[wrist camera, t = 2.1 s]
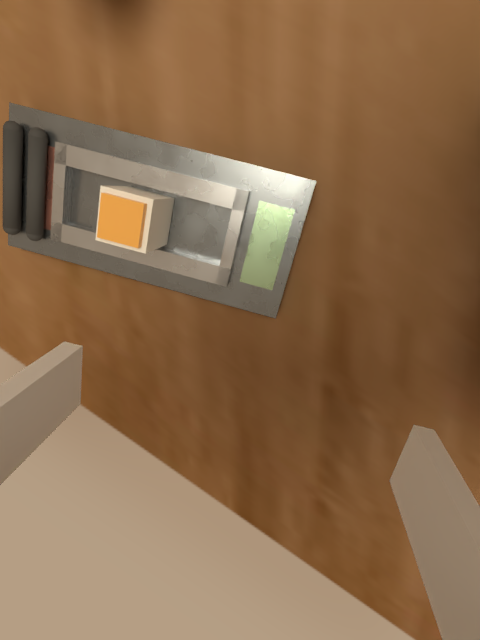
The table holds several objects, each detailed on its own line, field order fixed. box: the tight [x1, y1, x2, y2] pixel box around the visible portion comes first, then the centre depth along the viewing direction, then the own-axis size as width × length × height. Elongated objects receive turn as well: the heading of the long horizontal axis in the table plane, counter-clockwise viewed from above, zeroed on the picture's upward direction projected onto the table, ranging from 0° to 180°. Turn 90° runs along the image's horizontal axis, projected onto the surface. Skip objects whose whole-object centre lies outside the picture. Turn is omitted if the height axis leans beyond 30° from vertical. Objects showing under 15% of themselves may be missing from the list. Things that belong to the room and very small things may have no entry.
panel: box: [8, 103, 316, 318], centre depth 32 cm, size 12×26×3 cm, turn 76°
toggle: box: [95, 185, 175, 254], centre depth 29 cm, size 4×4×6 cm
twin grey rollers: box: [3, 121, 48, 241], centre depth 32 cm, size 9×4×1 cm, turn 167°
